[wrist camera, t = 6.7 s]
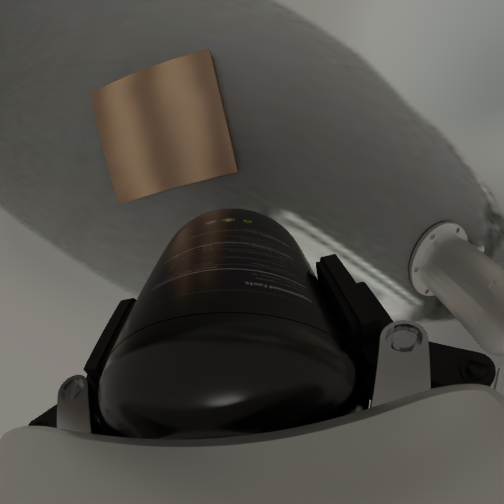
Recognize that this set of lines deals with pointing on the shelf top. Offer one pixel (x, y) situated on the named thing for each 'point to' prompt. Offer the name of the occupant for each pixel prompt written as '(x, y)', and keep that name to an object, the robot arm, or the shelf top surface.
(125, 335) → the supplement bottle
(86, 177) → the shelf top surface
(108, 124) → the wavy wooden tray
